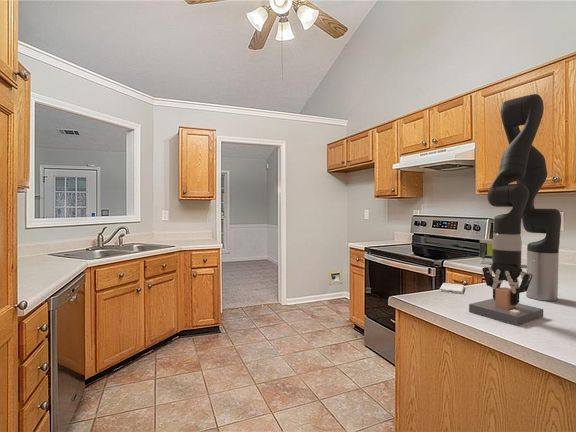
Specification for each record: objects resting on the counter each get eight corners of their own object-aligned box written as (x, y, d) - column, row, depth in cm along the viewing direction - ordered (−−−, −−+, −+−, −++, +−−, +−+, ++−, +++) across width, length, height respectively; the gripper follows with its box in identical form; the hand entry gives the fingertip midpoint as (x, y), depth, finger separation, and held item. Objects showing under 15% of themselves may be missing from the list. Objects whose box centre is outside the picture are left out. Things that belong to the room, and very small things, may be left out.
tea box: (513, 265, 192) (514, 240, 191) (506, 266, 186) (506, 241, 186) (486, 261, 204) (487, 238, 204) (478, 263, 198) (479, 239, 198)
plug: (503, 311, 104) (504, 287, 104) (515, 314, 101) (516, 289, 101) (494, 314, 102) (495, 288, 102) (506, 317, 99) (507, 291, 98)
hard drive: (442, 282, 140) (439, 288, 130) (464, 285, 136) (462, 291, 126) (442, 286, 140) (439, 292, 130) (464, 288, 136) (462, 295, 126)
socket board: (495, 305, 111) (495, 295, 111) (543, 317, 99) (543, 306, 99) (469, 311, 104) (469, 301, 104) (517, 325, 92) (517, 314, 92)
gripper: (539, 250, 97) (537, 307, 97) (489, 245, 109) (488, 295, 109) (526, 251, 93) (524, 311, 93) (476, 246, 105) (475, 298, 106)
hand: (505, 302), depth 101 cm, fingers open, 4 cm apart
